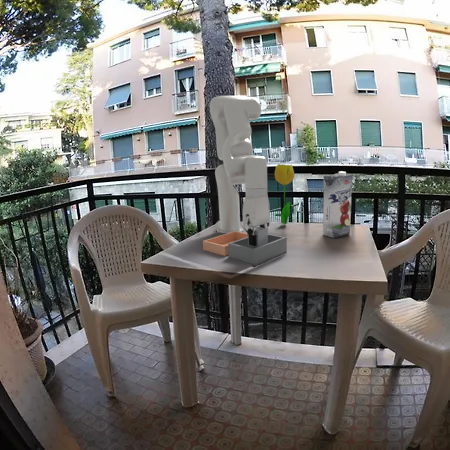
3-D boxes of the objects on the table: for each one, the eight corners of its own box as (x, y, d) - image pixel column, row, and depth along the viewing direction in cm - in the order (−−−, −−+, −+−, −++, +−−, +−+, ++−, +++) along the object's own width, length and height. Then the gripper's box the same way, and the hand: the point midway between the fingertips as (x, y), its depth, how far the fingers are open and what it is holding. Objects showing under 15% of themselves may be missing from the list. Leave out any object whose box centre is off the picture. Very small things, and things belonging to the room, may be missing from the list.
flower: (282, 228, 152) (282, 164, 145) (272, 225, 159) (271, 164, 152) (297, 225, 156) (297, 163, 149) (286, 222, 163) (286, 163, 156)
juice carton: (319, 235, 138) (320, 172, 132) (336, 231, 143) (338, 170, 136) (335, 239, 130) (337, 172, 124) (353, 235, 135) (356, 170, 129)
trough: (203, 252, 123) (202, 240, 122) (235, 241, 136) (235, 230, 134) (225, 258, 115) (224, 246, 114) (257, 246, 127) (257, 235, 126)
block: (248, 245, 114) (247, 229, 113) (257, 242, 118) (256, 226, 116) (259, 248, 111) (258, 231, 109) (268, 244, 114) (267, 228, 113)
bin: (229, 259, 114) (228, 243, 112) (261, 247, 126) (260, 232, 124) (254, 267, 105) (254, 249, 104) (286, 253, 117) (286, 237, 116)
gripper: (263, 189, 118) (264, 236, 122) (231, 195, 107) (234, 247, 111) (280, 190, 113) (280, 239, 117) (248, 197, 102) (250, 251, 106)
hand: (258, 243), depth 114 cm, fingers closed on block, 5 cm apart
